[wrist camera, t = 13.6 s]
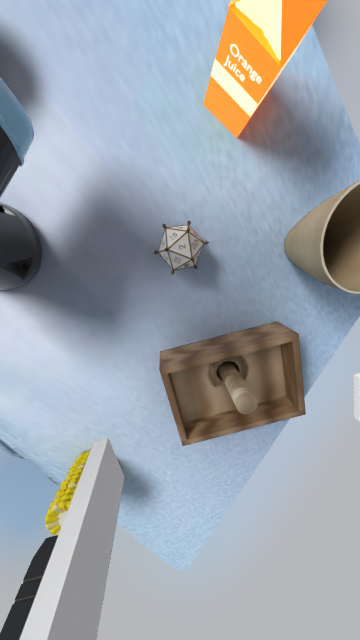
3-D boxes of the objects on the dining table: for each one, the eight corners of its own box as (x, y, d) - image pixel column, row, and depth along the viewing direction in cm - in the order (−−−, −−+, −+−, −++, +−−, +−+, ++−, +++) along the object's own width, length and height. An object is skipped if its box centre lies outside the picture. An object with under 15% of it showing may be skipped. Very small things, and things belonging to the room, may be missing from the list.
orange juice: (271, 89, 36) (394, -103, 17) (237, 138, 38) (314, 15, 18) (236, 50, 34) (329, -215, 15) (202, 103, 36) (247, -73, 17)
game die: (177, 239, 45) (192, 198, 36) (203, 269, 44) (226, 236, 35) (142, 257, 41) (149, 217, 32) (170, 291, 40) (186, 260, 31)
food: (96, 475, 58) (71, 450, 55) (129, 463, 54) (104, 435, 52) (59, 552, 44) (23, 523, 41) (100, 543, 40) (63, 510, 38)
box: (179, 418, 53) (182, 446, 45) (160, 351, 47) (159, 369, 40) (284, 391, 53) (305, 414, 45) (276, 321, 48) (298, 333, 40)
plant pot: (254, 225, 42) (307, 206, 26) (327, 188, 41) (425, 147, 26) (278, 294, 46) (336, 312, 31) (344, 262, 45) (437, 265, 30)
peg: (218, 373, 50) (238, 416, 37) (215, 360, 49) (234, 399, 36) (233, 370, 50) (259, 411, 37) (230, 356, 49) (256, 393, 36)
